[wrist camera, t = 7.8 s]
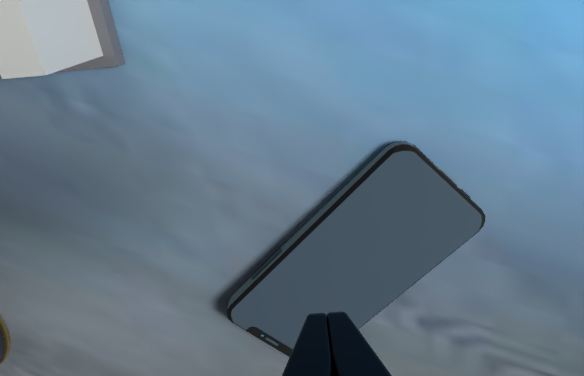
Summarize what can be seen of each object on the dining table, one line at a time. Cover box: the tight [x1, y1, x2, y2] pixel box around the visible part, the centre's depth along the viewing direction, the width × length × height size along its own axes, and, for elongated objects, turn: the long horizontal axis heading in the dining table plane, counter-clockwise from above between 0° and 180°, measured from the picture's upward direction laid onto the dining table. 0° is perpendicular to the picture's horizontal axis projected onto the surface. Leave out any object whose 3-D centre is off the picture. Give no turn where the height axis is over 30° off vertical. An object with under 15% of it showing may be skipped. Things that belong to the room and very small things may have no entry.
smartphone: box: [227, 141, 485, 357], centre depth 23 cm, size 8×2×15 cm
